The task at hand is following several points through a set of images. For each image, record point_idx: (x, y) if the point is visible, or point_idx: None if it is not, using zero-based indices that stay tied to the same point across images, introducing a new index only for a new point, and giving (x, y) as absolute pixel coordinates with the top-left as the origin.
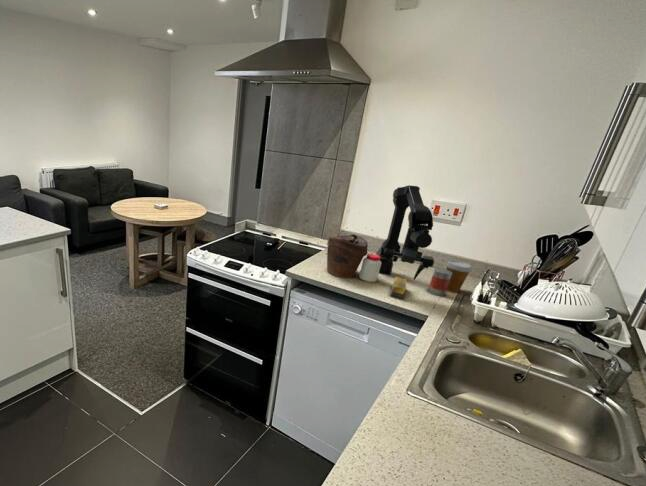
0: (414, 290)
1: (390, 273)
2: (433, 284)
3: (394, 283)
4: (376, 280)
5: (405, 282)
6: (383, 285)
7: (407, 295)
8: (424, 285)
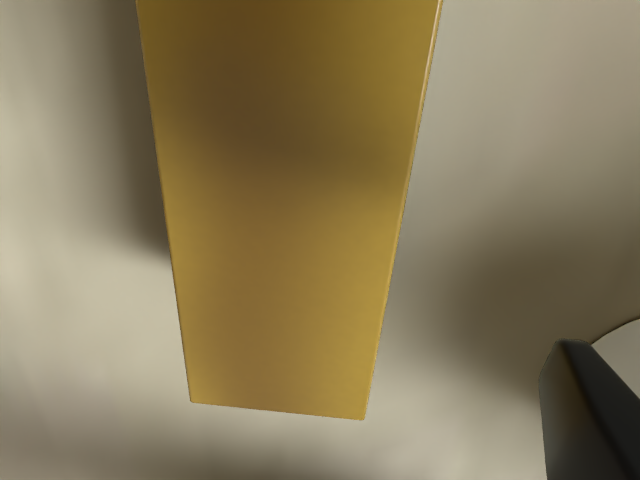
0: (95, 289)
1: (582, 353)
2: None
3: (416, 87)
4: None
5: (184, 274)
6: (501, 263)
7: (136, 49)
8: (47, 442)
